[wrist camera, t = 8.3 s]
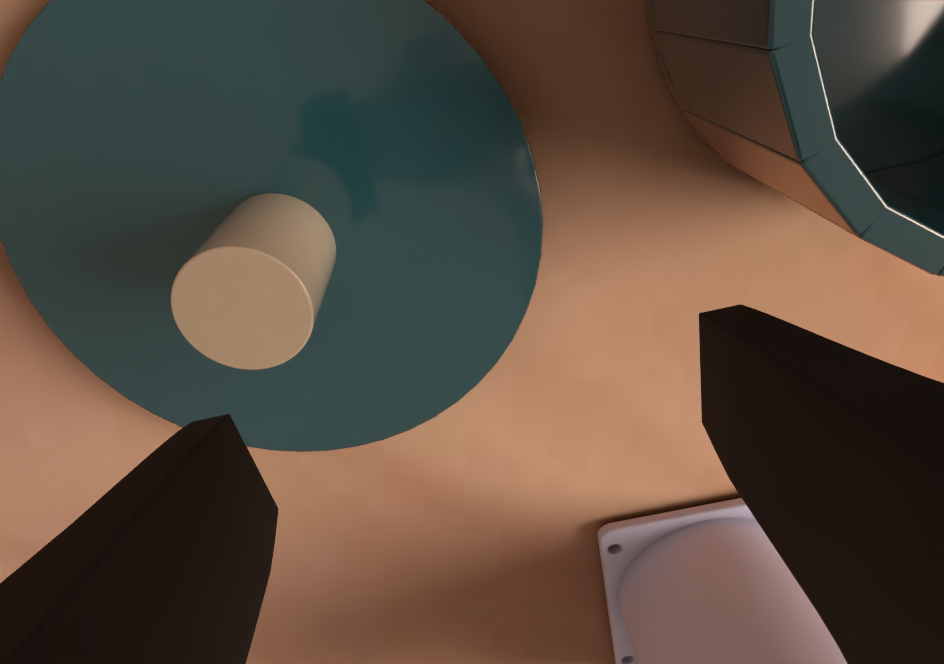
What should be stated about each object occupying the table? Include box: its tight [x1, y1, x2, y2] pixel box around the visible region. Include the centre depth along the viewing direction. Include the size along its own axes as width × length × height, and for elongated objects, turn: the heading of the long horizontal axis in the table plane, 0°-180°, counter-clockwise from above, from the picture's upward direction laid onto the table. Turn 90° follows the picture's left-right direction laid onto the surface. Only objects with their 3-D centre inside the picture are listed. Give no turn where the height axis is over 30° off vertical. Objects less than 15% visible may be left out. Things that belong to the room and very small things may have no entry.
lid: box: [0, 0, 543, 452], centre depth 14 cm, size 13×13×5 cm
